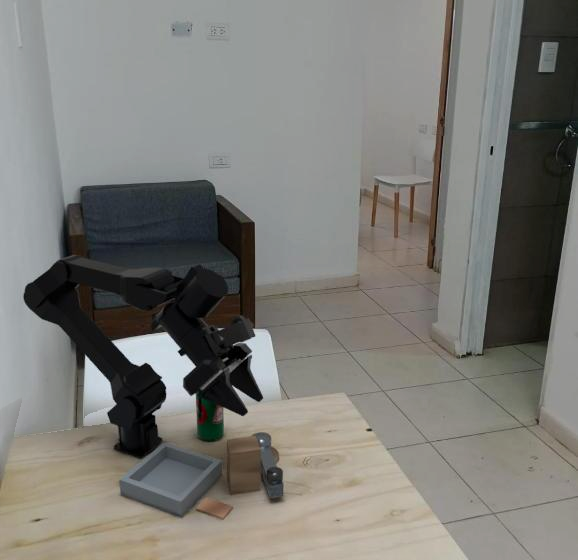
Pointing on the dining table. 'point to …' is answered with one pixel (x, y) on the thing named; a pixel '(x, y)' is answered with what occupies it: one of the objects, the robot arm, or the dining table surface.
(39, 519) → the dining table surface
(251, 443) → the block
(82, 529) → the dining table surface
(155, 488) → the tray
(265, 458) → the lever
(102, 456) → the dining table surface
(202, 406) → the soda can
